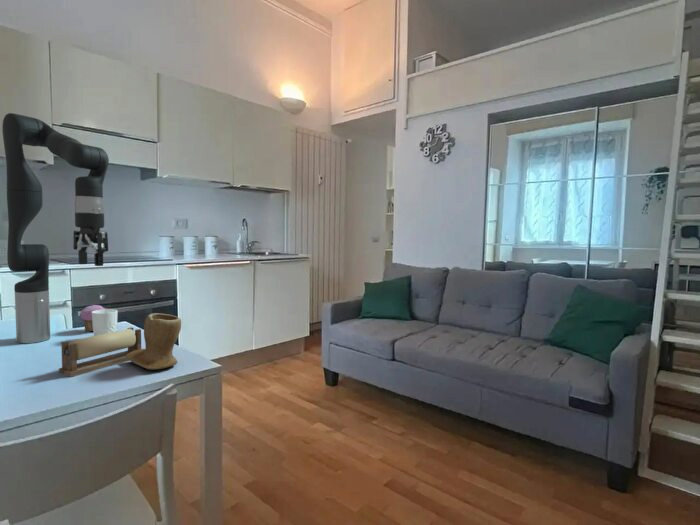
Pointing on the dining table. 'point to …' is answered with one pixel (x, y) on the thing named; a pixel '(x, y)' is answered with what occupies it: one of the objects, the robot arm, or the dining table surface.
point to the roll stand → (75, 369)
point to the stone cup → (157, 342)
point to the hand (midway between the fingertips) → (90, 264)
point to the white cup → (104, 321)
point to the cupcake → (89, 316)
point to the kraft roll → (103, 343)
